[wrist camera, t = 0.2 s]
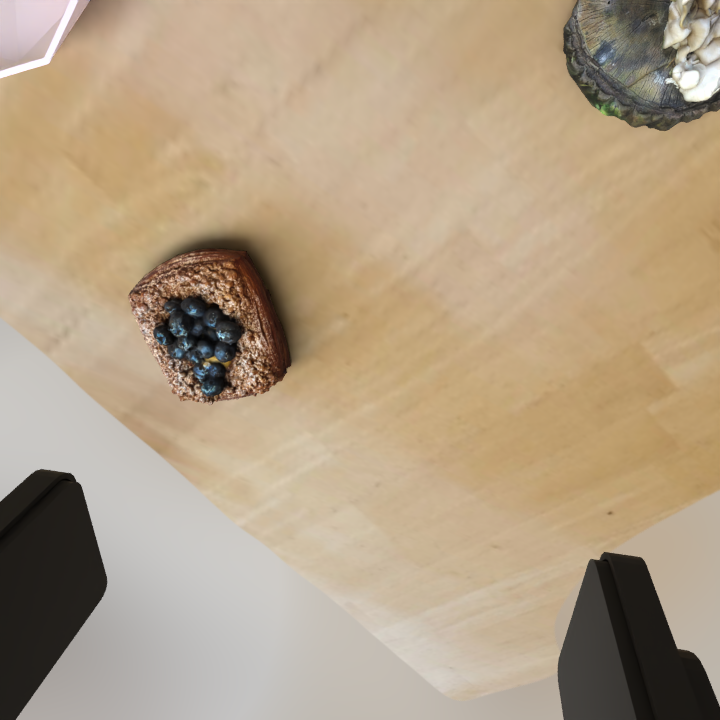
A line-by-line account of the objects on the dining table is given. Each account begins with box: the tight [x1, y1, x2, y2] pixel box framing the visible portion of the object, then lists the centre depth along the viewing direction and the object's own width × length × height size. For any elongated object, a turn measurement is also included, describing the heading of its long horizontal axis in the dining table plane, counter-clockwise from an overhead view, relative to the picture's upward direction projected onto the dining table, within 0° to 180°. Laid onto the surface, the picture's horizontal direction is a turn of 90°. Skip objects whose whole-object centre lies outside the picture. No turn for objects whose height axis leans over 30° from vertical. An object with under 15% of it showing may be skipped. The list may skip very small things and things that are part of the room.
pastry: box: [128, 248, 291, 405], centre depth 41 cm, size 11×12×6 cm
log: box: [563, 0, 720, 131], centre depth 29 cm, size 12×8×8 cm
